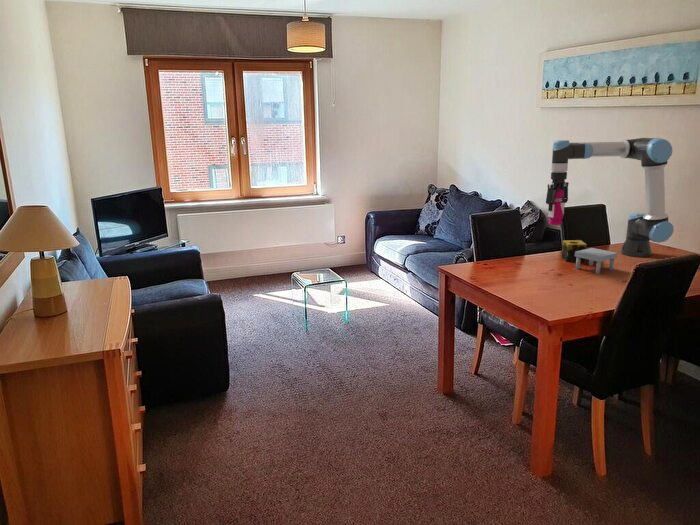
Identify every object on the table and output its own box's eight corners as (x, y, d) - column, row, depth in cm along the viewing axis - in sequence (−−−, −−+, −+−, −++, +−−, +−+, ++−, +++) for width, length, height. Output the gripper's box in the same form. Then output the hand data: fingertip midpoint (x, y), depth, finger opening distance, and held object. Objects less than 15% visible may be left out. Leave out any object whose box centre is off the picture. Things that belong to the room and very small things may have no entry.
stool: (590, 264, 273) (591, 247, 271) (615, 270, 262) (617, 252, 260) (573, 268, 266) (575, 251, 264) (598, 274, 255) (600, 257, 253)
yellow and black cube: (579, 257, 287) (581, 240, 285) (585, 262, 278) (587, 244, 275) (560, 257, 288) (562, 240, 286) (566, 262, 279) (567, 244, 276)
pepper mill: (561, 225, 263) (564, 186, 258) (546, 224, 267) (549, 186, 262) (563, 223, 269) (566, 184, 264) (549, 222, 273) (552, 184, 268)
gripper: (565, 169, 269) (562, 213, 275) (539, 172, 259) (536, 217, 265) (578, 170, 263) (574, 214, 269) (552, 173, 253) (549, 219, 259)
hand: (555, 216), depth 267 cm, fingers closed on pepper mill, 7 cm apart
